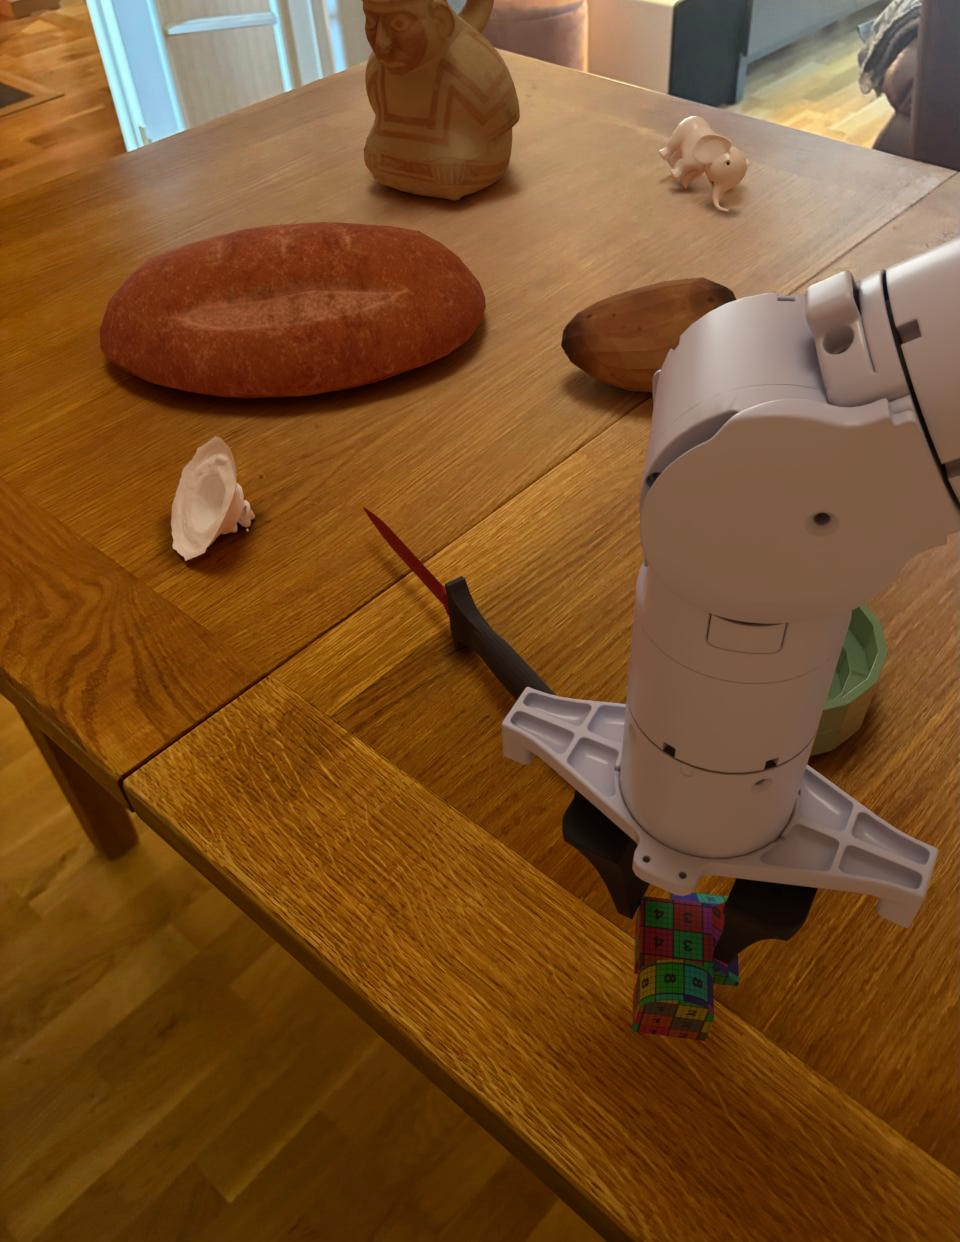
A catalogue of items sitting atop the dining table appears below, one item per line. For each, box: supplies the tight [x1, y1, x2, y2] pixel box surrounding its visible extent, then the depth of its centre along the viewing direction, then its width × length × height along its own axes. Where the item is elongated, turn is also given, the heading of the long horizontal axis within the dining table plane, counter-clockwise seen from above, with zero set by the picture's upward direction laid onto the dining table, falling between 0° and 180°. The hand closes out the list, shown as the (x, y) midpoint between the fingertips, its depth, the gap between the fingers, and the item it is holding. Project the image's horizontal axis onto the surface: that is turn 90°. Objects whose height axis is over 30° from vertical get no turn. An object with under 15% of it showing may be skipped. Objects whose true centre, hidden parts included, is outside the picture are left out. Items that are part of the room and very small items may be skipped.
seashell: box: [170, 435, 256, 562], centre depth 68 cm, size 8×5×8 cm
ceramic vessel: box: [361, 0, 521, 201], centre depth 99 cm, size 17×20×25 cm
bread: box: [99, 221, 487, 399], centre depth 84 cm, size 23×32×9 cm
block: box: [631, 891, 740, 1042], centre depth 40 cm, size 6×4×3 cm
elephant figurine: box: [658, 115, 752, 213], centre depth 101 cm, size 7×12×6 cm
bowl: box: [809, 602, 889, 757], centre depth 57 cm, size 11×11×4 cm
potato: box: [560, 277, 737, 394], centre depth 77 cm, size 8×13×8 cm
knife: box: [362, 506, 558, 701], centre depth 60 cm, size 24×2×5 cm, turn 33°
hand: (680, 917), depth 41 cm, fingers closed on block, 3 cm apart
